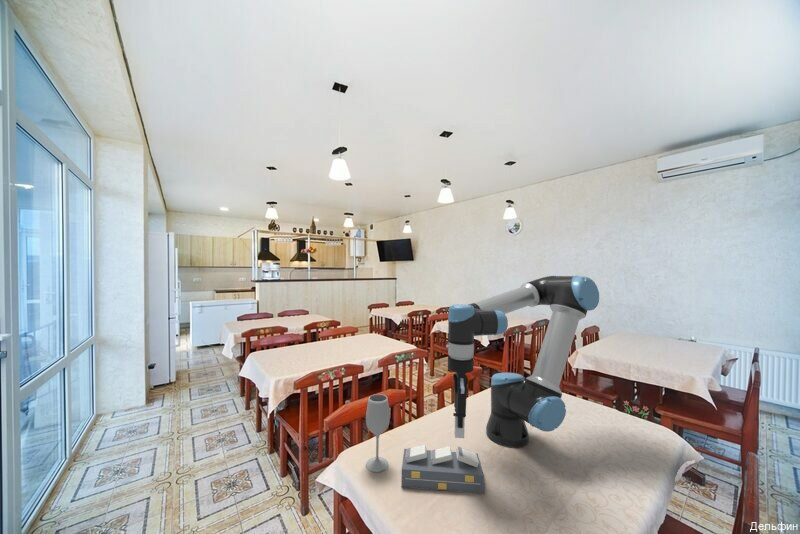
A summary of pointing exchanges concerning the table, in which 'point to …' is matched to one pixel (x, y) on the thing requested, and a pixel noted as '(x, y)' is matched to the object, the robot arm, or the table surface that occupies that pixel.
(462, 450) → the rocker
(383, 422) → the wineglass
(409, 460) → the rocker
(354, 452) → the table surface
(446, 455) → the rocker
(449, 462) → the console
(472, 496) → the table surface
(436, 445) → the table surface
